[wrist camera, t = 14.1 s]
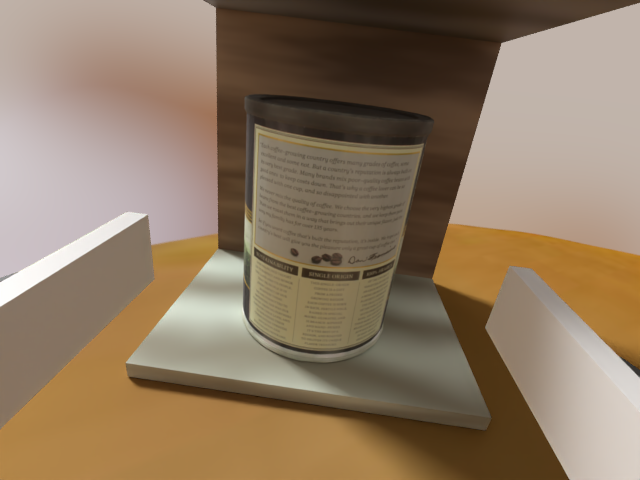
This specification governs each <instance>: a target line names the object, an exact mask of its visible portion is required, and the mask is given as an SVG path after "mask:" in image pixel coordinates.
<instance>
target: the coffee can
mask: <svg viewBox="0 0 640 480" xmlns="http://www.w3.org/2000/svg"><path fill="white" fill-rule="evenodd" d="M245 110H246V112H247V123H246V124H247V130H246V170H245V174H246V177H245V230H244V273H243V304H242V318H243V322H244V324H245V327H246V329H247V330H248V332H249V333H250V335H251V336H252V337H253V338H254V339H255V340H256V341H258V342H259V343H260V344H261V345H263V346H264V347H266V348H267V349H269V350H271V351H273V352H275V353H277V354H279V355H282V356H285V357H288V358H291V359H294V360H298V361H307V362H316V363H328V362H336V361H342V360H346V359H350V358H352V357H355V356H358V355H360V354H362V353H364V352H365V351H366V350H368V349H369V348H371V347H372V346H373V345H374V344H375V343H376V342H377V340H378V339H379V337H380V335H381V333H382V330H383V324H384V316H385V312H386V308H387V304H388V300H389V296H390V292H391V288H392V283H393V279H394V275H395V271H396V267H397V263H398V259H399V255H400V251H401V247H402V243H403V239H404V234H405V230H406V226H407V221H408V218H409V214H410V209H411V205H412V201H413V196H414V192H415V188H416V184H417V180H418V176H419V171H420V167H421V163H422V159H423V154H424V150H425V146H426V141H427V138H428V135H429V134H430V133H431V132H432V128H433V125H434V120H433V119H432V118H431V117H429V116H425V115H421V114H418V113H413V112H408V111H403V110H397V109H391V108H385V107H378V106H371V105H364V104H358V103H349V102H341V101H333V100H325V99H315V98H307V97H297V96H286V95H269V94H253V95H248V96H245Z"/></svg>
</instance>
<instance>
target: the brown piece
mask: <svg viewBox="0 0 640 480" xmlns="http://www.w3.org/2000/svg"><path fill="white" fill-rule="evenodd" d="M204 1H206V2H208V3H209V4H211V5H213V6H214V7H216V45H217V142H218V143H217V147H218V250H217V251H216V252H215V254H214V255H213V256H212V257H211V258H210V260H209V261H208V262H207V263H206V265H205V266H204V267H203V268H202V270H201V271H200V272H199V273H198V274H197V276H196V277H195V278H194V279H193V281H192V282H191V283H190V284H189V286H188V287H187V288H186V289H185V290H184V292H183V293H182V294H181V295H180V297H179V298H178V299H177V300H176V302H175V303H174V304H173V305H172V306H171V308H170V309H169V310H168V311H167V313H166V314H165V315H164V316H163V318H162V319H161V320H160V321H159V322H158V324H157V325H156V326H155V327H154V329H153V330H152V331H151V332H150V334H149V335H148V336H147V337H146V338H145V340H144V341H143V342H142V343H141V345H140V346H139V347H138V348H137V350H136V351H135V352H134V353H133V354H132V356H131V357H130V358H129V359H128V361H127V362H126V368H127V374H128V376H129V377H135V378H142V379H149V380H155V381H162V382H168V383H175V384H182V385H188V386H195V387H201V388H208V389H215V390H221V391H228V392H234V393H241V394H248V395H254V396H261V397H267V398H274V399H281V400H287V401H294V402H300V403H307V404H314V405H320V406H327V407H333V408H340V409H347V410H353V411H360V412H366V413H373V414H380V415H386V416H393V417H399V418H406V419H413V420H419V421H426V422H433V423H439V424H446V425H452V426H459V427H466V428H472V429H479V430H485V431H486V429H487V427H488V425H489V423H490V421H491V415H490V413H489V411H488V408H487V406H486V404H485V401H484V399H483V397H482V394H481V392H480V390H479V387H478V385H477V383H476V380H475V378H474V376H473V373H472V371H471V369H470V366H469V364H468V362H467V359H466V357H465V355H464V352H463V350H462V348H461V345H460V343H459V341H458V338H457V336H456V334H455V331H454V329H453V327H452V324H451V322H450V320H449V317H448V315H447V313H446V310H445V308H444V306H443V303H442V301H441V299H440V296H439V294H438V292H437V289H436V287H435V285H434V282H433V280H432V277H433V274H434V270H435V267H436V264H437V260H438V257H439V253H440V250H441V247H442V243H443V240H444V236H445V233H446V230H447V226H448V223H449V219H450V216H451V212H452V209H453V206H454V202H455V199H456V196H457V192H458V189H459V186H460V182H461V179H462V175H463V172H464V169H465V165H466V162H467V158H468V155H469V152H470V148H471V145H472V141H473V138H474V135H475V131H476V128H477V124H478V121H479V118H480V114H481V111H482V107H483V104H484V101H485V97H486V94H487V90H488V87H489V84H490V80H491V77H492V74H493V70H494V67H495V63H496V60H497V56H498V53H499V50H500V46H501V43H503V42H506V41H510V40H513V39H516V38H520V37H523V36H527V35H530V34H534V33H537V32H540V31H544V30H547V29H551V28H554V27H557V26H561V25H564V24H568V23H571V22H575V21H578V20H582V19H585V18H588V17H592V16H595V15H599V14H602V13H605V12H609V11H612V10H616V9H619V8H623V7H626V6H630V5H633V4H637V3H640V0H204ZM253 94H269V95H286V96H297V97H307V98H315V99H325V100H333V101H341V102H349V103H358V104H364V105H371V106H378V107H385V108H391V109H397V110H403V111H408V112H413V113H418V114H421V115H425V116H429V117H431V118H432V119H433V120H434V125H433V128H432V132H431V133H430V134H429V135H428V138H427V141H426V146H425V150H424V154H423V159H422V163H421V167H420V171H419V176H418V180H417V184H416V188H415V192H414V196H413V201H412V205H411V209H410V214H409V218H408V221H407V226H406V230H405V234H404V239H403V243H402V247H401V251H400V255H399V259H398V263H397V267H396V271H395V275H394V279H393V283H392V288H391V292H390V296H389V300H388V304H387V308H386V312H385V316H384V324H383V330H382V333H381V335H380V337H379V339H378V340H377V342H376V343H375V344H374V345H373V346H372V347H371V348H369V349H368V350H366V351H365V352H364V353H362V354H360V355H358V356H355V357H352V358H350V359H346V360H342V361H336V362H328V363H316V362H307V361H298V360H294V359H291V358H288V357H285V356H282V355H279V354H277V353H275V352H273V351H271V350H269V349H267V348H266V347H264V346H263V345H261V344H260V343H259V342H258V341H256V340H255V339H254V338H253V337H252V336H251V335H250V333H249V332H248V330H247V329H246V327H245V324H244V322H243V318H242V304H243V273H244V230H245V177H246V174H245V170H246V130H247V124H246V123H247V112H246V110H245V96H248V95H253Z"/></svg>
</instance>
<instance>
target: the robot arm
mask: <svg viewBox="0 0 640 480" xmlns="http://www.w3.org/2000/svg"><path fill="white" fill-rule="evenodd" d="M153 280H154V270H153V260H152V250H151V241H150V230H149V220H148V215H147V214H141V213H133V212H126V213H124V214H122V215H121V216H119V217H117V218H116V219H113V220H112V221H110V222H108V223H106V224H104V225H103V226H101V227H99V228H97V229H96V230H94V231H92V232H90V233H88V234H86V235H85V236H83V237H81V238H79V239H77V240H76V241H74V242H72V243H70V244H68V245H66V246H65V247H63V248H61V249H59V250H57V251H56V252H54V253H52V254H50V255H49V256H47V257H45V258H43V259H42V260H39V261H38V262H36V263H34V264H32V265H30V266H29V267H27V268H25V269H23V270H21V271H19V272H17V273H14V274H11V275H8V276H5V277H2V278H0V429H1V428H2V427H3V426H4V425H5V424H6V423H7V422H8V421H9V420H10V419H11V418H12V417H13V416H14V415H15V414H16V413H17V412H18V411H19V410H20V409H21V408H23V407H24V406H25V405H26V404H27V403H28V402H29V401H30V400H31V399H32V398H33V397H34V396H35V395H36V394H37V393H38V392H39V391H40V390H41V389H42V388H43V387H44V386H45V385H46V384H47V383H48V382H49V381H50V380H51V379H52V378H53V377H54V376H55V375H56V374H57V373H58V372H60V371H61V370H62V369H63V368H64V367H65V366H66V365H67V364H68V363H69V362H70V361H71V360H72V359H73V358H74V357H75V356H76V355H77V354H78V353H79V352H80V351H81V350H82V349H83V348H84V347H85V346H86V345H87V344H88V343H89V342H90V341H91V340H92V339H93V338H94V337H95V336H96V335H98V334H99V333H100V332H101V331H102V330H103V329H104V328H105V327H106V326H107V325H108V324H109V323H110V322H111V321H112V320H113V319H114V318H115V317H116V316H117V315H118V314H119V313H120V312H121V311H122V310H123V309H124V308H125V307H126V306H127V305H128V304H129V303H130V302H131V301H132V300H133V299H135V298H136V297H137V296H138V295H139V294H140V293H141V292H142V291H143V290H144V289H145V288H146V287H147V286H148V285H149V284H150V283H151V282H152V281H153ZM485 329H486V330H487V332H488V334H489V336H490V338H491V339H492V341H493V343H494V345H495V347H496V348H497V350H498V352H499V354H500V356H501V357H502V359H503V361H504V363H505V365H506V366H507V368H508V370H509V372H510V374H511V375H512V377H513V379H514V381H515V383H516V384H517V386H518V388H519V390H520V392H521V393H522V395H523V397H524V399H525V401H526V402H527V404H528V406H529V408H530V410H531V411H532V413H533V415H534V417H535V419H536V420H537V422H538V424H539V426H540V428H541V429H542V431H543V433H544V435H545V436H546V438H547V440H548V442H549V444H550V445H551V447H552V449H553V451H554V453H555V454H556V456H557V458H558V460H559V462H560V463H561V465H562V467H563V469H564V471H565V472H566V474H567V476H568V478H569V480H640V370H639V369H638V368H636V367H635V366H633V365H632V364H630V363H629V362H627V361H626V360H625V359H623V358H622V357H619V356H618V355H617V354H616V353H615V352H614V351H613V350H612V349H611V348H610V347H609V346H608V345H607V344H606V343H605V342H604V341H603V340H602V339H601V338H600V337H599V336H598V335H597V334H596V333H595V332H594V331H593V330H592V329H591V328H590V327H589V326H588V325H587V324H586V323H585V322H584V321H583V320H582V319H581V318H580V317H579V316H578V315H577V314H576V313H575V312H574V311H573V310H572V309H571V308H570V307H569V306H568V305H567V304H566V303H565V302H564V301H563V300H562V299H561V298H560V297H559V296H558V295H557V294H556V293H555V292H554V291H553V290H552V289H551V288H550V287H549V286H548V285H547V284H546V283H545V282H544V281H543V280H542V279H541V278H540V277H539V276H538V275H537V274H536V273H535V272H534V271H533V270H532V269H529V268H522V267H515V266H509V269H508V271H507V274H506V276H505V279H504V281H503V284H502V286H501V289H500V291H499V294H498V296H497V299H496V301H495V304H494V306H493V309H492V311H491V314H490V316H489V319H488V321H487V324H486V326H485Z"/></svg>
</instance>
